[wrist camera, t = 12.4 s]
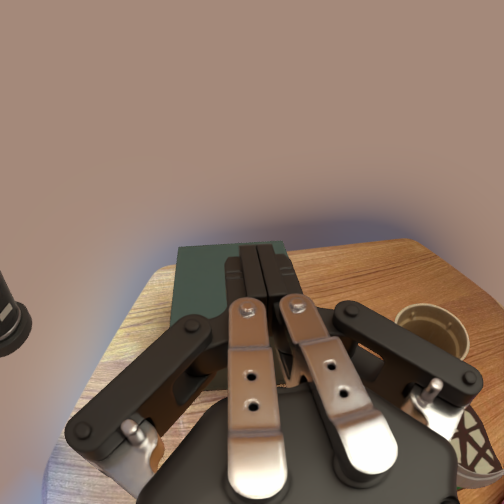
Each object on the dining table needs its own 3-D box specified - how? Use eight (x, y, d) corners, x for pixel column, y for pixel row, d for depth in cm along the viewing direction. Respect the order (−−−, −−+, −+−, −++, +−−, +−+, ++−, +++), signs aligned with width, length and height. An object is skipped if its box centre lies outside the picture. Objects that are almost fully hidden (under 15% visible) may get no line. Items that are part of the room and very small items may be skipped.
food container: (371, 433, 28) (405, 385, 23) (416, 418, 29) (456, 367, 23) (405, 528, 18) (460, 507, 12) (454, 503, 19) (512, 470, 13)
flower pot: (396, 422, 29) (427, 380, 24) (359, 363, 36) (378, 315, 32) (451, 391, 31) (483, 347, 26) (414, 342, 39) (436, 295, 34)
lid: (179, 251, 41) (178, 246, 41) (282, 245, 43) (282, 240, 42) (170, 343, 28) (168, 337, 28) (313, 331, 30) (314, 326, 29)
